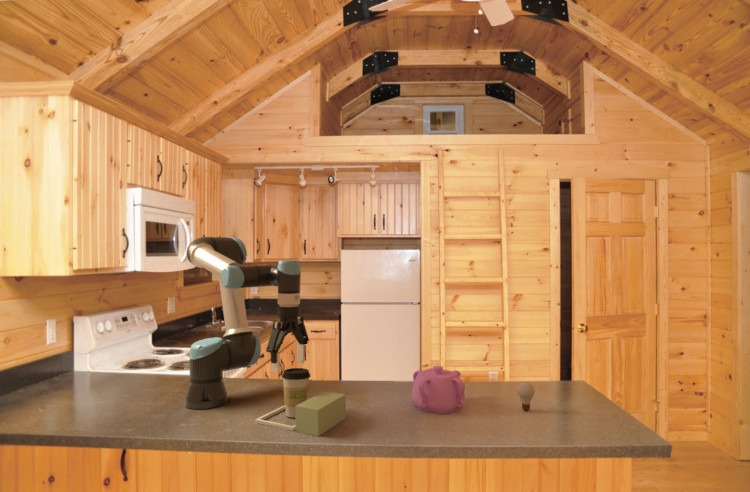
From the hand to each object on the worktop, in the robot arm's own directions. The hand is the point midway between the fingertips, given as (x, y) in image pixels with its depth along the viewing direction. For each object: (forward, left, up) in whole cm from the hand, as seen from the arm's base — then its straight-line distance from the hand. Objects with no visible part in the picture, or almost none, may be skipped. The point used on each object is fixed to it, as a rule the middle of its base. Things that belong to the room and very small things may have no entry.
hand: (288, 367), depth 151 cm
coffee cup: (0, +3, -17) cm, 17 cm away
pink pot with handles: (+42, +35, -17) cm, 58 cm away
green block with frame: (+5, 0, -17) cm, 18 cm away
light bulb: (+71, +42, -17) cm, 85 cm away
